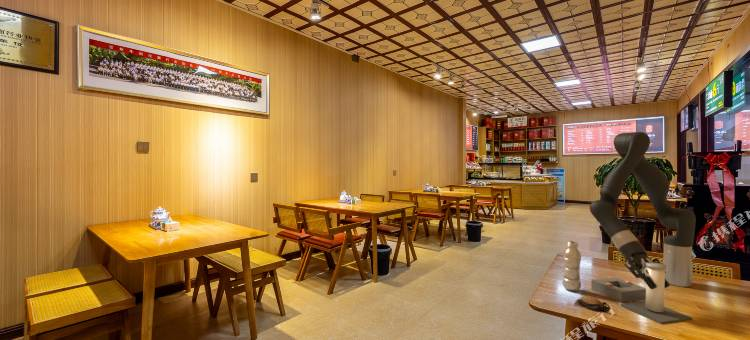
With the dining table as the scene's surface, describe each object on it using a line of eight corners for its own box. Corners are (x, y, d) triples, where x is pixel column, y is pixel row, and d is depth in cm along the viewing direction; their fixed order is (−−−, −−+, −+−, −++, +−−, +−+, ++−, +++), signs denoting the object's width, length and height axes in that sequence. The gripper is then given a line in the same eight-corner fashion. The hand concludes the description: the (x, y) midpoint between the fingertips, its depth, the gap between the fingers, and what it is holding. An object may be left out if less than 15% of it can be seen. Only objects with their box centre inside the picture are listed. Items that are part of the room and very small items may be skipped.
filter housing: (616, 286, 141) (616, 275, 141) (647, 299, 129) (648, 286, 129) (591, 289, 138) (591, 278, 138) (621, 302, 126) (621, 289, 126)
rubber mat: (649, 302, 126) (649, 300, 126) (692, 319, 112) (692, 317, 112) (620, 305, 122) (620, 304, 122) (660, 323, 109) (660, 322, 109)
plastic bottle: (583, 293, 134) (584, 244, 133) (565, 292, 135) (566, 243, 135) (577, 287, 140) (578, 240, 140) (560, 286, 142) (561, 240, 141)
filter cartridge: (652, 304, 121) (653, 261, 120) (669, 311, 115) (670, 266, 115) (640, 306, 119) (641, 262, 119) (656, 313, 114) (658, 267, 113)
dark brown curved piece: (572, 306, 123) (572, 297, 123) (578, 300, 129) (578, 290, 129) (607, 316, 115) (607, 305, 115) (611, 308, 122) (611, 298, 121)
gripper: (620, 240, 122) (653, 284, 111) (650, 238, 126) (685, 281, 114) (606, 251, 128) (637, 294, 116) (635, 249, 131) (668, 290, 120)
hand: (660, 287), depth 115 cm, fingers open, 5 cm apart
